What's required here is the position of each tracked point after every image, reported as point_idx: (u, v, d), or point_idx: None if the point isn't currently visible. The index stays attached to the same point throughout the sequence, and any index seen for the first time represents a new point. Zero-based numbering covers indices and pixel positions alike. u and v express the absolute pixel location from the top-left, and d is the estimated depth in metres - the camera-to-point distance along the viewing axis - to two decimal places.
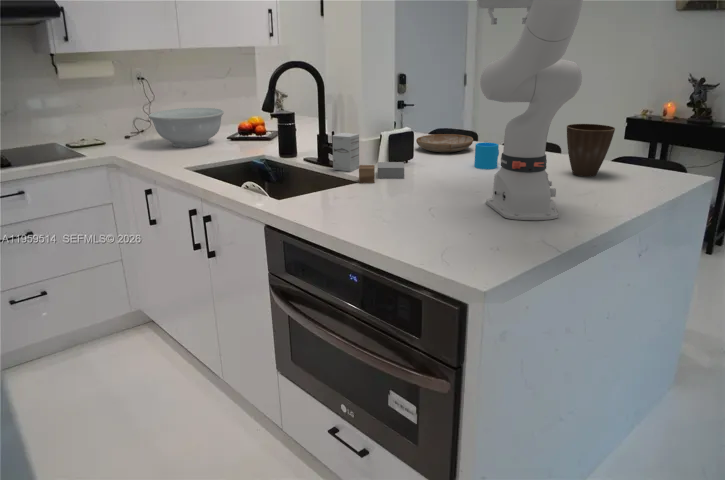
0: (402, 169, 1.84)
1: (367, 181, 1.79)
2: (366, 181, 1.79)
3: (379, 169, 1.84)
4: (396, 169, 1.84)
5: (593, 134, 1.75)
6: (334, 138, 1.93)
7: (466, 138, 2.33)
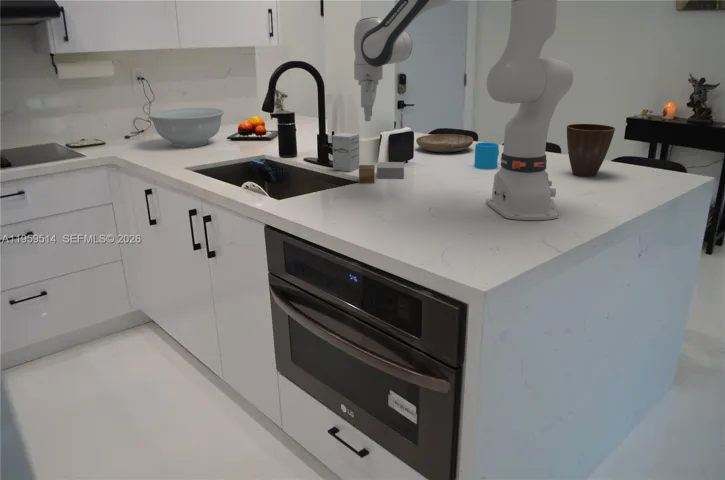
0: (401, 169, 1.84)
1: (367, 181, 1.79)
2: (366, 181, 1.79)
3: (378, 169, 1.84)
4: (395, 169, 1.84)
5: (593, 134, 1.75)
6: (334, 138, 1.93)
7: (466, 138, 2.33)
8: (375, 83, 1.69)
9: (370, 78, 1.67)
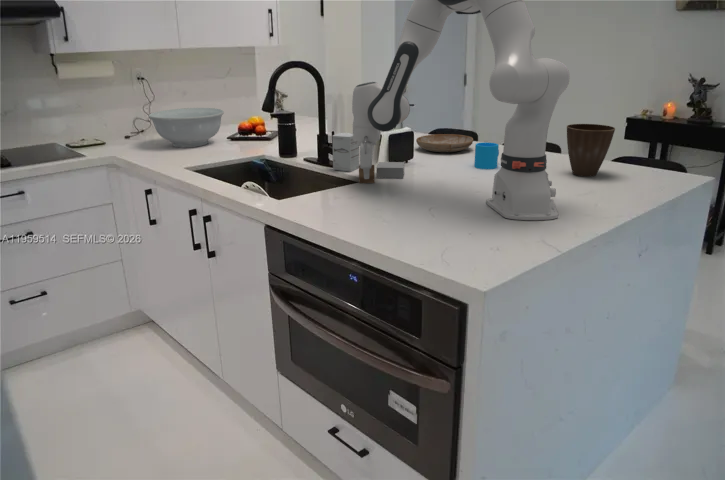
0: (401, 169, 1.83)
1: (367, 181, 1.79)
2: (366, 181, 1.79)
3: (378, 169, 1.84)
4: (395, 169, 1.84)
5: (593, 134, 1.75)
6: (334, 138, 1.93)
7: (466, 138, 2.34)
8: (373, 144, 1.76)
9: (368, 140, 1.73)
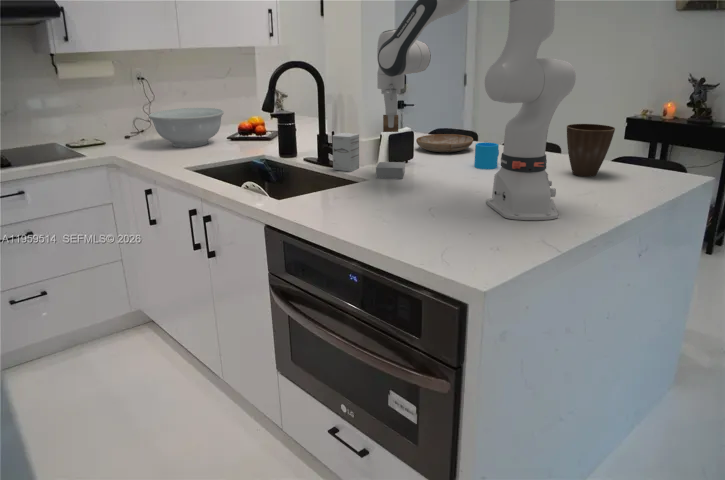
0: (400, 169, 1.83)
1: (391, 130, 1.81)
2: (390, 130, 1.81)
3: (378, 169, 1.85)
4: (394, 169, 1.84)
5: (593, 134, 1.75)
6: (334, 138, 1.93)
7: (466, 138, 2.34)
8: (398, 92, 1.77)
9: (393, 87, 1.75)
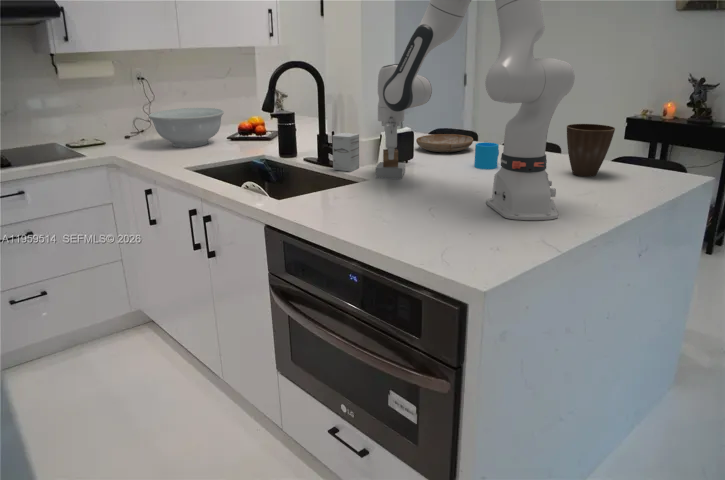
0: (400, 170, 1.83)
1: (391, 165, 1.85)
2: (390, 165, 1.85)
3: (377, 169, 1.85)
4: (394, 169, 1.84)
5: (593, 134, 1.75)
6: (334, 138, 1.93)
7: (466, 138, 2.34)
8: (398, 124, 1.81)
9: (393, 120, 1.78)
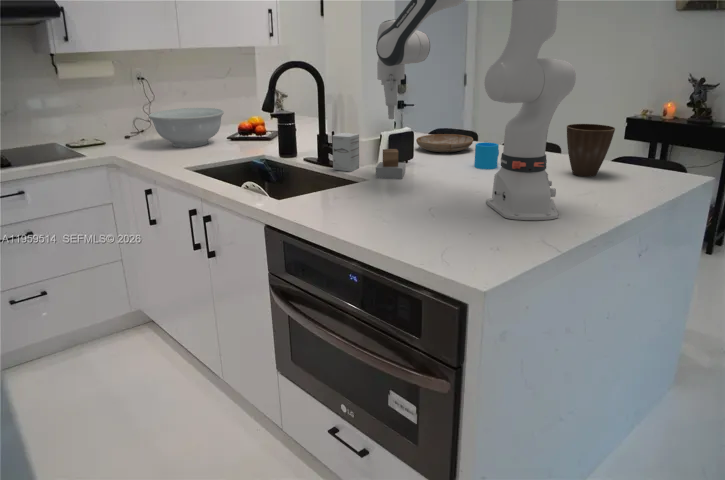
0: (400, 170, 1.83)
1: (391, 164, 1.86)
2: (390, 164, 1.86)
3: (377, 169, 1.85)
4: (394, 169, 1.84)
5: (593, 134, 1.75)
6: (334, 138, 1.93)
7: (466, 138, 2.34)
8: (398, 83, 1.76)
9: (393, 78, 1.74)
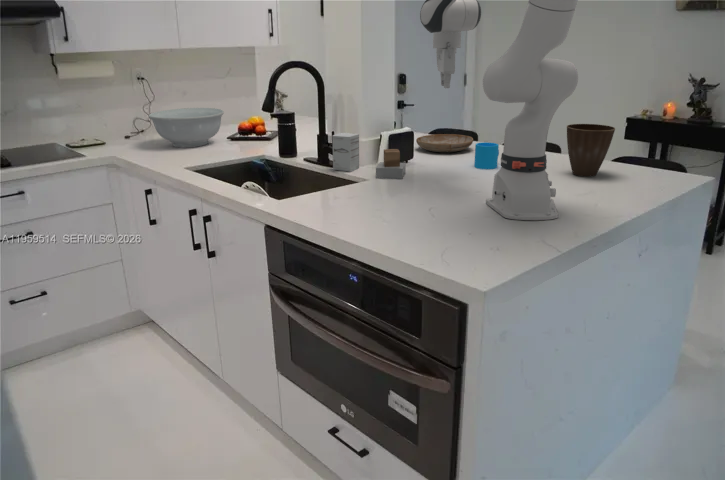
0: (400, 170, 1.83)
1: (393, 164, 1.85)
2: (392, 164, 1.85)
3: (377, 169, 1.85)
4: (394, 170, 1.83)
5: (593, 134, 1.75)
6: (334, 138, 1.93)
7: (466, 138, 2.34)
8: None
9: (450, 46, 1.73)
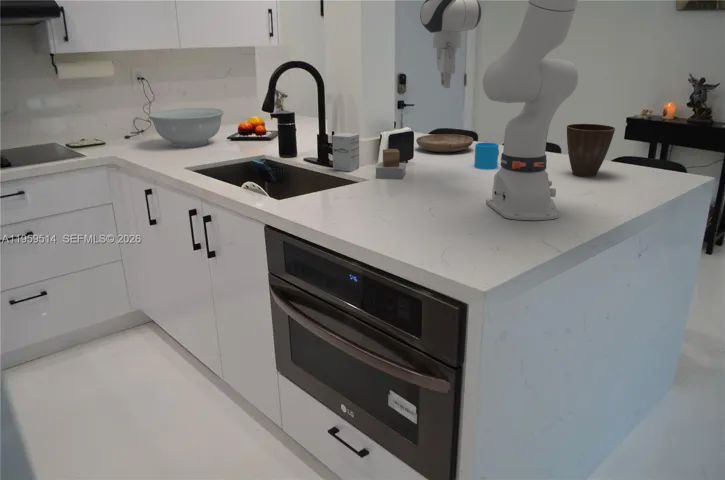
0: (400, 170, 1.83)
1: (392, 164, 1.86)
2: (391, 164, 1.85)
3: (377, 169, 1.84)
4: (394, 170, 1.83)
5: (593, 134, 1.75)
6: (334, 138, 1.93)
7: (466, 138, 2.34)
8: (454, 51, 1.75)
9: (450, 46, 1.73)
